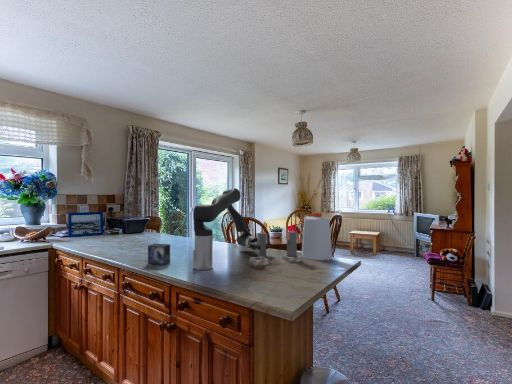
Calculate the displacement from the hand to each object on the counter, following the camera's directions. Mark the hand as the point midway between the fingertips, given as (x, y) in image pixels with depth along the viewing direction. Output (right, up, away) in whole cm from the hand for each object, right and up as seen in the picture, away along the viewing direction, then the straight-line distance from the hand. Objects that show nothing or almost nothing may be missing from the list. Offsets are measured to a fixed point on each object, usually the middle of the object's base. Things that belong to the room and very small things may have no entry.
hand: (263, 247), depth 160 cm
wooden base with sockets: (+7, -8, -6) cm, 12 cm away
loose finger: (-1, -8, +2) cm, 8 cm away
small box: (-59, -8, -5) cm, 59 cm away
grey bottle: (+32, -8, +6) cm, 34 cm away
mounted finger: (+16, -7, -3) cm, 17 cm away
